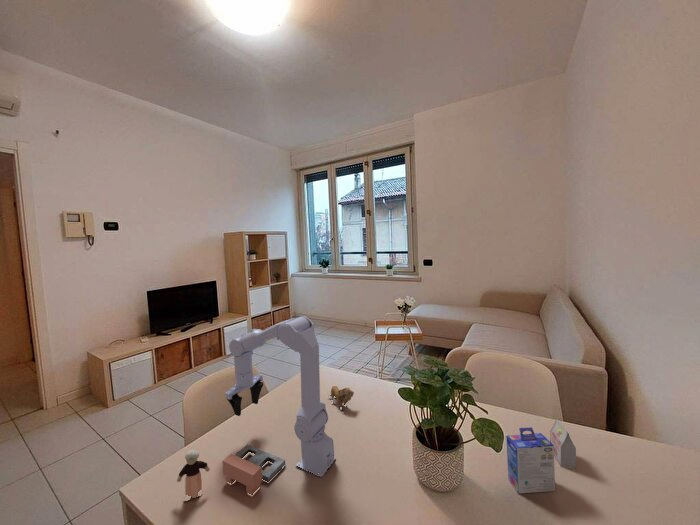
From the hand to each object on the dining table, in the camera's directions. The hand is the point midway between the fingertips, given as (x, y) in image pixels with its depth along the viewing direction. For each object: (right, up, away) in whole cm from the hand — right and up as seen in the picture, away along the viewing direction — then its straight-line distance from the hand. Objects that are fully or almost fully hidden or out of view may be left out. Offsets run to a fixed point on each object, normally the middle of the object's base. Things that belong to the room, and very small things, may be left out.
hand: (246, 408), depth 99 cm
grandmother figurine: (-6, -12, -22) cm, 26 cm away
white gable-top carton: (+98, -7, -16) cm, 100 cm away
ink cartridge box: (+84, -8, -24) cm, 88 cm away
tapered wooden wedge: (+6, -11, -20) cm, 24 cm away
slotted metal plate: (+8, -11, -13) cm, 19 cm away
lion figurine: (+32, -8, +18) cm, 38 cm away
